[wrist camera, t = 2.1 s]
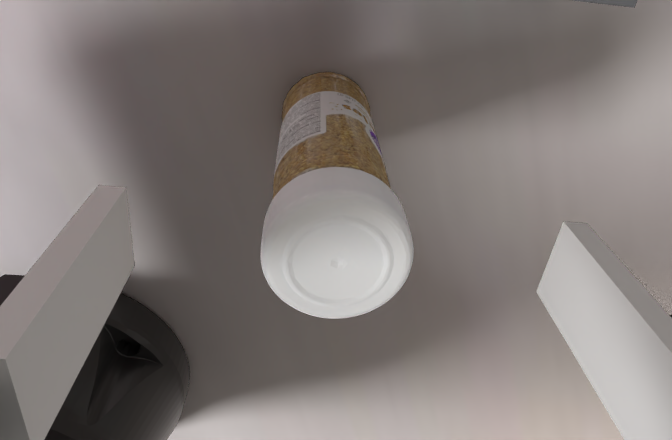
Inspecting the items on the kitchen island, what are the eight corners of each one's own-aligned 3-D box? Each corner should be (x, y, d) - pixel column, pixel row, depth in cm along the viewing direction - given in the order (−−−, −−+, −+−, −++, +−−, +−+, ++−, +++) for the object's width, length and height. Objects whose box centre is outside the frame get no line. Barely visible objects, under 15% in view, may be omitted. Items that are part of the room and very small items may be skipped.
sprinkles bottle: (385, 121, 27) (445, 276, 15) (316, 170, 28) (322, 347, 16) (334, 49, 25) (357, 163, 13) (261, 104, 26) (224, 254, 14)
